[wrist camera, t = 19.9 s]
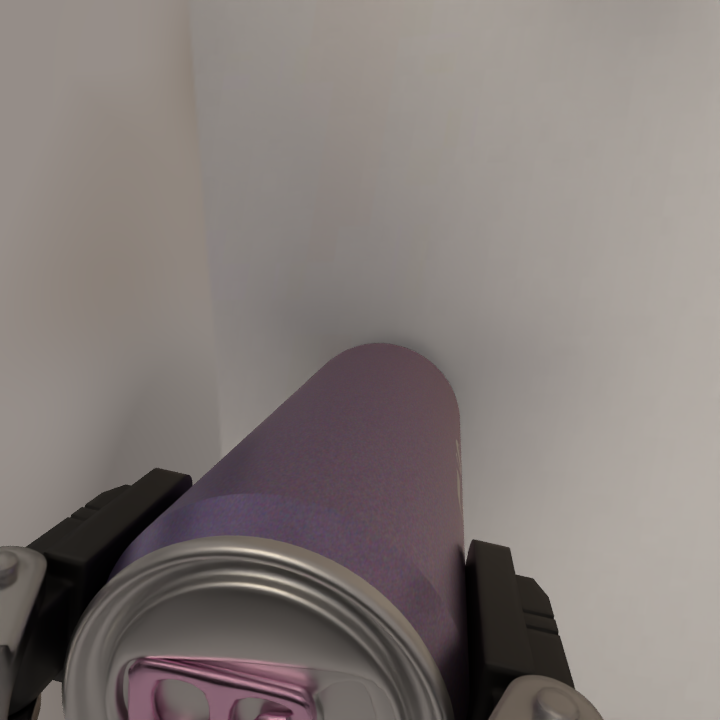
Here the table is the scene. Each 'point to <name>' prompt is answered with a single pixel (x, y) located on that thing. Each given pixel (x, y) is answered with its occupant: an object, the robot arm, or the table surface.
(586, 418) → the table surface
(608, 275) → the table surface
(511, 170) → the table surface
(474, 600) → the robot arm
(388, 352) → the beverage can
